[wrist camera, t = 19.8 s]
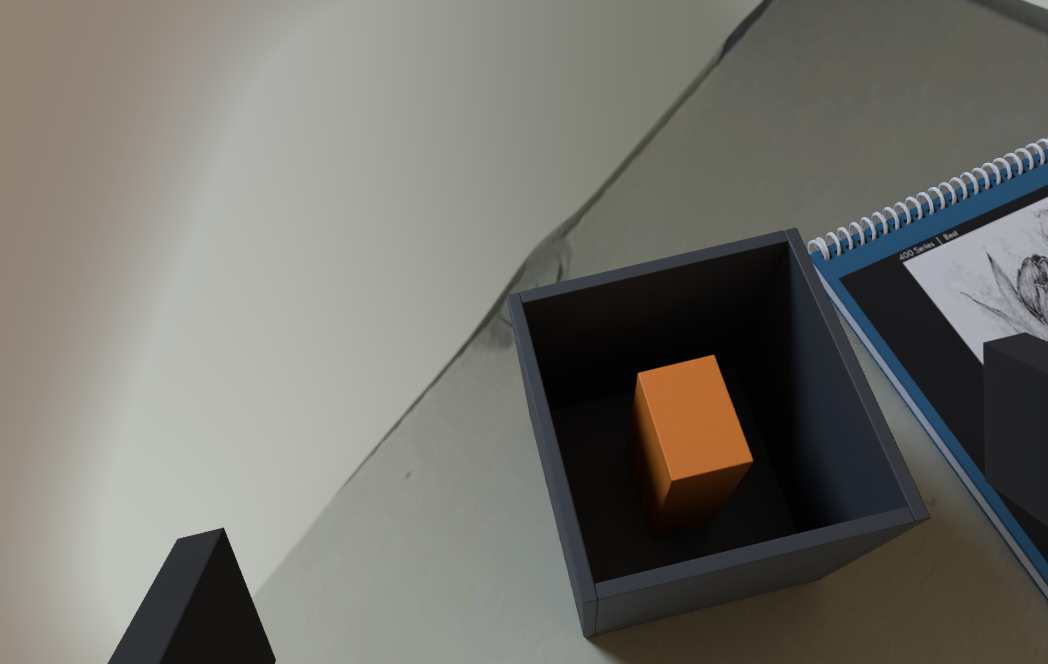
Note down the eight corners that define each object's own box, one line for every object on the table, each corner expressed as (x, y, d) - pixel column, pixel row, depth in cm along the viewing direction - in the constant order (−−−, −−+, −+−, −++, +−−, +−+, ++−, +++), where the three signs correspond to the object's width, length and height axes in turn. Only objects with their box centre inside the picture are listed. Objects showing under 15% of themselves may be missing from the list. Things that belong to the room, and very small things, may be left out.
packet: (650, 539, 42) (672, 481, 32) (625, 453, 45) (637, 372, 34) (712, 523, 43) (754, 461, 32) (683, 439, 45) (714, 354, 34)
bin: (584, 638, 41) (582, 604, 28) (529, 412, 47) (506, 294, 34) (820, 579, 42) (931, 517, 28) (737, 362, 48) (796, 226, 34)
